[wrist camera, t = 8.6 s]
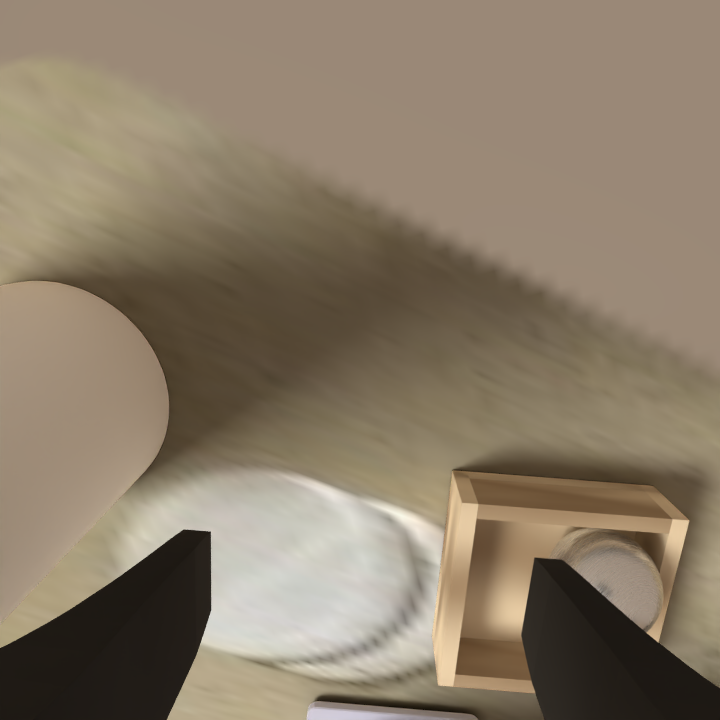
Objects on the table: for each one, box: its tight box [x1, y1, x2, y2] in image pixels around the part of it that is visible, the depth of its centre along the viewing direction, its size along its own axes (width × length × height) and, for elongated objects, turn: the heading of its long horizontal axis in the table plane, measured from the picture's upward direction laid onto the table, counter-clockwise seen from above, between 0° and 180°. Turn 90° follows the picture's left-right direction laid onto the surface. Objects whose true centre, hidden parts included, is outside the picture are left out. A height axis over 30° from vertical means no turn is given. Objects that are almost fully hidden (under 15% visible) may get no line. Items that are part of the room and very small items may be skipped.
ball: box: [548, 528, 663, 632], centre depth 20 cm, size 4×4×4 cm
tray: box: [432, 470, 689, 693], centre depth 21 cm, size 8×8×3 cm
